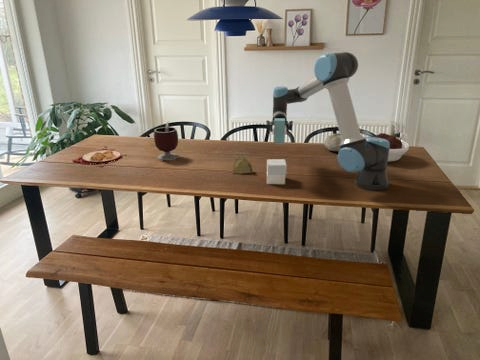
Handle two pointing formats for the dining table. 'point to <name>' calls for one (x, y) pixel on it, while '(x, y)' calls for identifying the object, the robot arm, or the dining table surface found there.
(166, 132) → the mate gourd
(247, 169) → the rock
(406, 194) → the dining table surface
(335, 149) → the decorative shell
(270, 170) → the tower top
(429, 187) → the dining table surface
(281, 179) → the tower base
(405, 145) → the white shallow bowl
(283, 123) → the teal post
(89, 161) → the plate with food
